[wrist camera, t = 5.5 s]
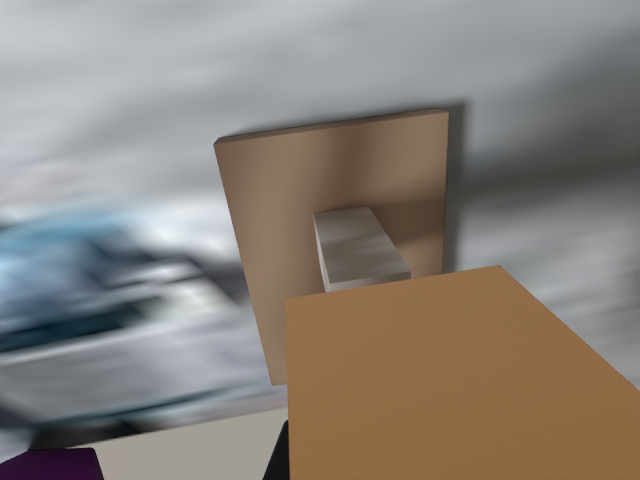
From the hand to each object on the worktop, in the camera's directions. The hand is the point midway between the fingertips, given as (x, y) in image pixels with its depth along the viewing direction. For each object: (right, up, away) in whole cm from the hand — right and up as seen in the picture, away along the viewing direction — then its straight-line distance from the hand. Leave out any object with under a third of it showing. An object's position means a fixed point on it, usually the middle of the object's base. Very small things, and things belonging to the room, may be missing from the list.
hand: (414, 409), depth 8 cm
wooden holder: (-1, +3, +11) cm, 12 cm away
